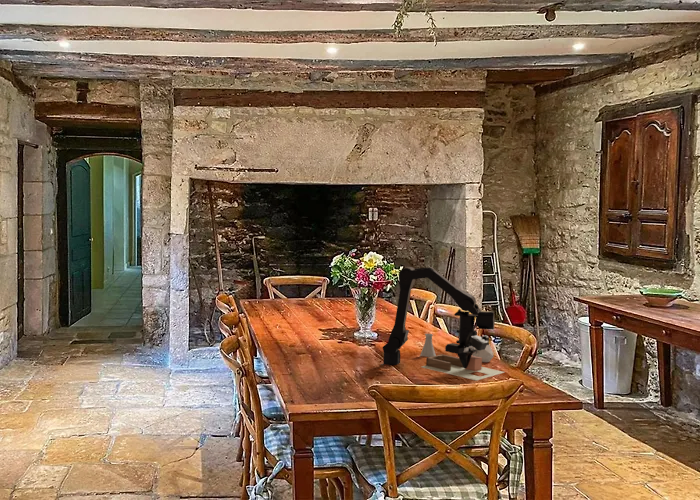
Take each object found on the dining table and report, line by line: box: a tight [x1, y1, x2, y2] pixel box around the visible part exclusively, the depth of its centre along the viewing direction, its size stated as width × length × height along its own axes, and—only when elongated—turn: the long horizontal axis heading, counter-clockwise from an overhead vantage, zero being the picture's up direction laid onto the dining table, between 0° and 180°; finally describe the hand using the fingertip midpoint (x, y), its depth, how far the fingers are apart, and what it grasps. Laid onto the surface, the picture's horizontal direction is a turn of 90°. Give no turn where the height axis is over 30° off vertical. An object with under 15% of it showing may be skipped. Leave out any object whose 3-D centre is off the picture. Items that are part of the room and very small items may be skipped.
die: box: [472, 344, 495, 363], centre depth 285 cm, size 8×9×10 cm
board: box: [421, 365, 505, 382], centre depth 269 cm, size 19×26×1 cm
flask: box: [419, 333, 437, 358], centre depth 292 cm, size 7×7×10 cm
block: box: [465, 356, 483, 371], centre depth 270 cm, size 4×4×4 cm
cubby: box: [425, 353, 463, 371], centre depth 273 cm, size 10×11×3 cm
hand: (465, 368), depth 267 cm, fingers closed
